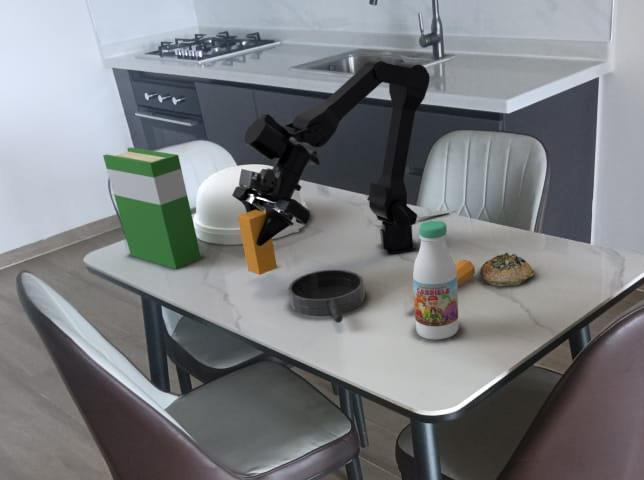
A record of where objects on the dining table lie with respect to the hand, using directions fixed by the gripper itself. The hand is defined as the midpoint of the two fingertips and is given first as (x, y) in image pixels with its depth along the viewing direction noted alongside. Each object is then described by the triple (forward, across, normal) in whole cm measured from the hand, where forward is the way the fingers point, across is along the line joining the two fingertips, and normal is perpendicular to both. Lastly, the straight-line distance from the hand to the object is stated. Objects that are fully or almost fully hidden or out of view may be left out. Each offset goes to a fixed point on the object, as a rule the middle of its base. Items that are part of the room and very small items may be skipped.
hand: (251, 243), depth 146 cm
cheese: (+3, 0, +5) cm, 6 cm away
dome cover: (-10, -40, +27) cm, 50 cm away
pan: (+4, +13, +13) cm, 19 cm away
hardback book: (+8, -39, +8) cm, 41 cm away
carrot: (-8, +29, +25) cm, 39 cm away
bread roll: (-18, +34, +35) cm, 52 cm away
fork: (-28, -5, +45) cm, 53 cm away
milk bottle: (+1, +39, +16) cm, 42 cm away
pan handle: (+6, +22, +8) cm, 24 cm away
